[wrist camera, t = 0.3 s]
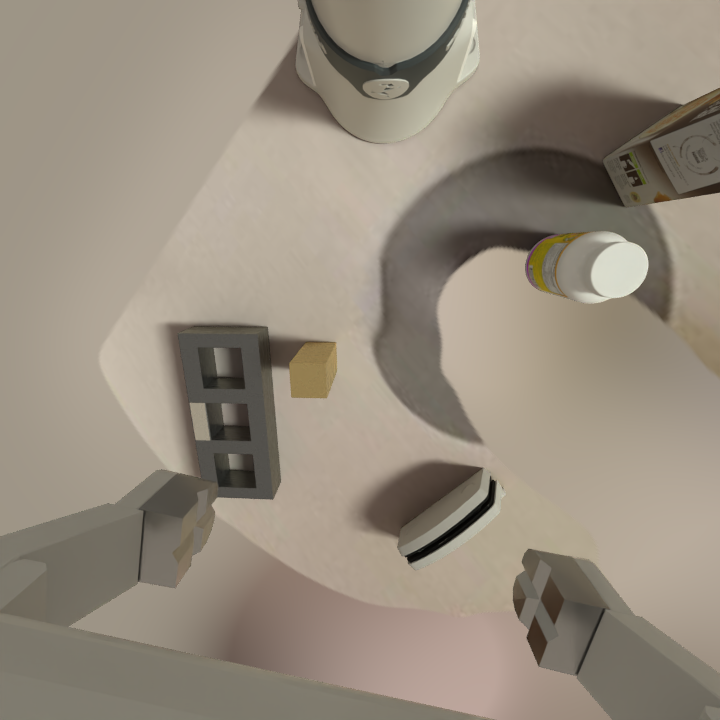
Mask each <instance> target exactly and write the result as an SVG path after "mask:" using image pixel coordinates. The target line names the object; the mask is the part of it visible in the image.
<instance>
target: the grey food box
mask: <svg viewBox="0 0 720 720" xmlns="http://www.w3.org/2000/svg"><path fill="white" fill-rule="evenodd" d="M603 164H604V166H605V168H606V170H607V172H608V174H609V176H610V178H611V180H612V182H613V184H614V186H615V188H616V190H617V192H618V194H619V196H620V198H621V200H622V202H623V204H624V206H626V207H632V206H639V205H646V204H652V203H658V202H664V201H671V200H677V199H683V198H689V197H695V196H702V195H708V194H714V193H720V88H718V89H716V90H714V91H712V92H710V93H708V94H705V95H703V96H701V97H699V98H697V99H695V100H693V101H691V102H689V103H686V104H684V105H682V106H680V107H679V108H677V109H676V110H674V111H673V112H671V113H670V114H668V115H667V116H665V117H664V118H662V119H661V120H659V121H658V122H656V123H655V124H653V125H652V126H650V127H649V128H648V129H646V130H645V131H643V132H642V133H640V134H639V135H637V136H636V137H634V138H633V139H631V140H630V141H629V142H627V143H626V144H624V145H623V146H621V147H620V148H618V149H617V150H615V151H614V152H612V153H611V154H610V155H608V156H607V157H605V158H604V159H603Z"/></svg>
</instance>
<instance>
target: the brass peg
mask: <svg viewBox="0 0 720 720" xmlns="http://www.w3.org/2000/svg"><path fill="white" fill-rule="evenodd" d="M289 369H290V384H291V397H294V398H327V397H328V394H329V391H330V389H331V386H332V383H333V380H334V378H335V375H336V372H337V353H336V342H306V343H305V344H304V345H303V347H302V348H301V349H300V350H299V352H298V353H297V354H296V356H295V357H294V358H293V359H292V361H291V362H290V363H289Z"/></svg>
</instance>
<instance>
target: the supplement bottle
mask: <svg viewBox="0 0 720 720" xmlns="http://www.w3.org/2000/svg"><path fill="white" fill-rule="evenodd" d="M647 270H648V258H647V255H646V253H645V252H644V250H643V249H642V248H641V247H640V246H638V245H637V244H634V243H631V242H627V241H626V240H625V239H624V238H623V237H622V236H620V235H618V234H615V233H612V232H607V231H595V232H581V233H567V234H557V235H552V236H548V237H546V238H544V239H542V240H541V241H539V242H538V243H537V244H536V245H535V246H534V247H533V248H532V249H531V251H530V252H529V254H528V257H527V260H526V264H525V271H526V276H527V278H528V280H529V282H530V283H531V284H532V286H534V287H535V288H536V289H538V290H540V291H543V292H546V293H549V294H553V295H557V296H560V297H564V298H567V299H571V300H574V301H578V302H581V303H599V302H602V301H605V300H608V299H610V298H620V297H623V296H626V295H628V294H630V293H632V292H633V291H634V290H636V289H637V288H638V287H639V286H640V285H641V283H642V282H643V280H644V279H645V277H646V274H647Z"/></svg>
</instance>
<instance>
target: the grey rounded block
mask: <svg viewBox="0 0 720 720" xmlns="http://www.w3.org/2000/svg"><path fill="white" fill-rule="evenodd" d="M505 495H506V493H505V489H504V488H502V487H501V486H500V484H499V482H498V481H497V480H496V481H494V480H492V481H491V476H490V472H489V471H488V470H486V469H485V468H482V469H481V470H480V471H478V472H477V473H476V474H474V475H473V476H472V477H470V478H469V479H467V480H466V481H465V482H463V483H462V484H461V485H459V486H458V487H457V488H455V489H454V490H452V491H451V492H450V493H448V494H447V495H446V496H444V497H443V498H442V499H440V500H439V501H437V502H436V503H435V504H433V505H432V506H431V507H429V508H428V509H427V510H425V511H424V512H423V513H421V514H420V515H418V516H417V517H416V518H414V519H413V520H412V521H410V522H409V523H408V524H406V525H405V526H403V527H402V528H401V531H400V536H399V541H398V546H397V548H398V550H399V552H400V554H401V556H405V557H407V560H408V564H409V565H410V566H411V567H412V568H413V569H414V570H419V569H421V568H424V567H426V566H428V565H430V564H432V563H434V562H436V561H438V560H439V559H441V558H443V557H445V556H446V555H448V554H449V553H451V552H452V551H454V550H455V549H457V548H458V547H460V546H461V545H462V544H464V543H465V542H467V541H468V540H469V539H470V538H472V537H473V536H474V535H475V534H477V533H478V532H479V531H480V530H482V529H483V528H484V527H485V526H486V525H487V524H488V523H490V522H491V521H492V520H493V519H494V518H495V517H496V516H497V515H498V514H499V512H500V506H501V498H502V497H504V496H505Z"/></svg>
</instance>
